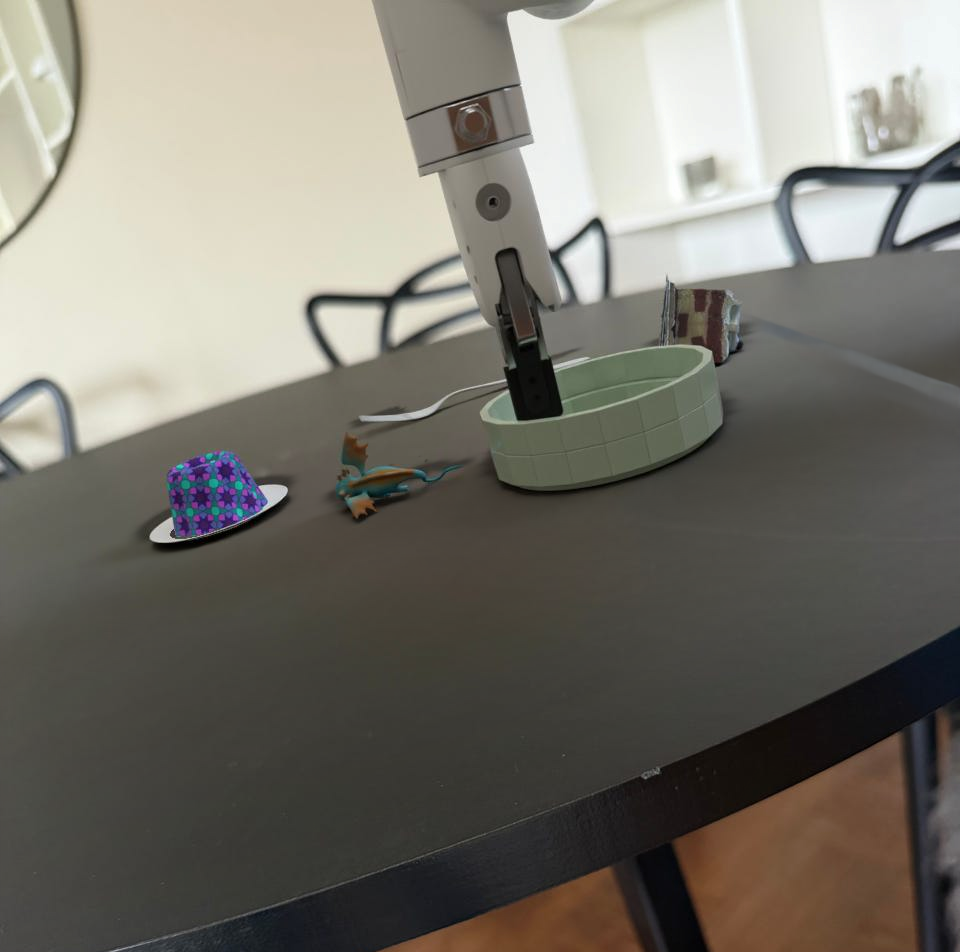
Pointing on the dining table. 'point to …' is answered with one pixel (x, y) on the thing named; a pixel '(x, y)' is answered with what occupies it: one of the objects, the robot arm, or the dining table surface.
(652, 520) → the dining table surface
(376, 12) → the robot arm
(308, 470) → the dining table surface
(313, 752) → the dining table surface
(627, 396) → the bowl
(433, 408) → the fork
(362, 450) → the dragon figurine
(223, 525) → the purple patterned hat
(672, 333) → the chocolate cake
